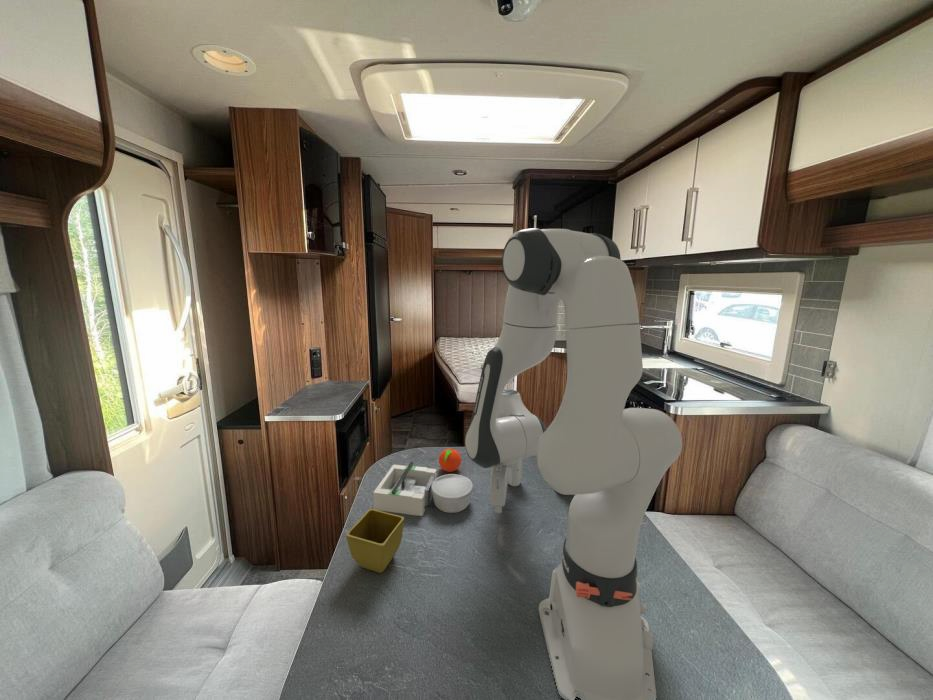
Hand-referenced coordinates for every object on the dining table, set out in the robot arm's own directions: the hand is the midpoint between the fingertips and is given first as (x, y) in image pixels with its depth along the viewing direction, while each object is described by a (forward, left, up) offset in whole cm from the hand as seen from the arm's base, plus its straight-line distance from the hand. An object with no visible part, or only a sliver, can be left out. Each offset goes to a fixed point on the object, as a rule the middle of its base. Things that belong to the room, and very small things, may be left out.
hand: (500, 499), depth 95 cm
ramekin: (0, +13, -3) cm, 13 cm away
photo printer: (+15, -1, -3) cm, 15 cm away
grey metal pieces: (0, +24, -2) cm, 24 cm away
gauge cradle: (0, +25, -3) cm, 26 cm away
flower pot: (-23, +24, -3) cm, 33 cm away
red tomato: (+15, +17, -3) cm, 23 cm away
